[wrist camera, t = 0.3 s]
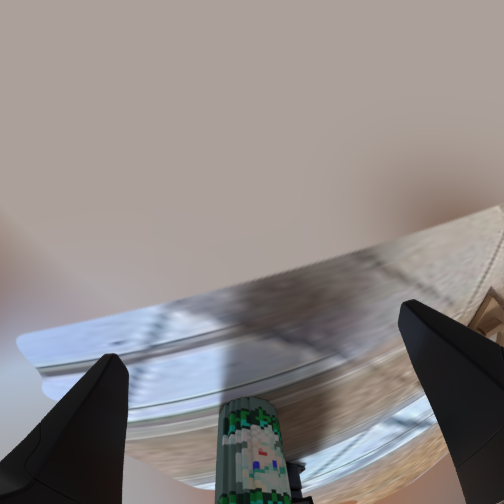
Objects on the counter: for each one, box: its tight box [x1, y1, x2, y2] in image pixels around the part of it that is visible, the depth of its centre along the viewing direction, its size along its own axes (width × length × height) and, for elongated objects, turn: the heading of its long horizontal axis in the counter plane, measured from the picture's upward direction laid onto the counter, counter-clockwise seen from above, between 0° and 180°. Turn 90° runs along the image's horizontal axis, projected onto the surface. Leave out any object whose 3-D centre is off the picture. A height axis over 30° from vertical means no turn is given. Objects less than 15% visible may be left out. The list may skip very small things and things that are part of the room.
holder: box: [468, 294, 504, 347], centre depth 26 cm, size 12×10×3 cm
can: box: [215, 397, 292, 504], centre depth 21 cm, size 6×6×15 cm
